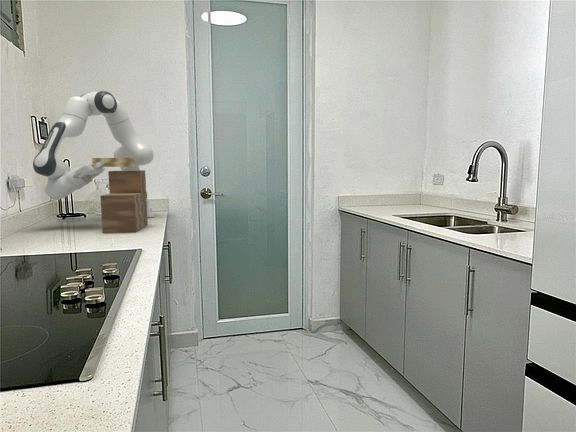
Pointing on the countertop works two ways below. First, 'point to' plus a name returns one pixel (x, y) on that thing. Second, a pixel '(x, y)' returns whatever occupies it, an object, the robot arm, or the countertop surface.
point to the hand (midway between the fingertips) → (106, 161)
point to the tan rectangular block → (115, 162)
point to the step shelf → (125, 202)
